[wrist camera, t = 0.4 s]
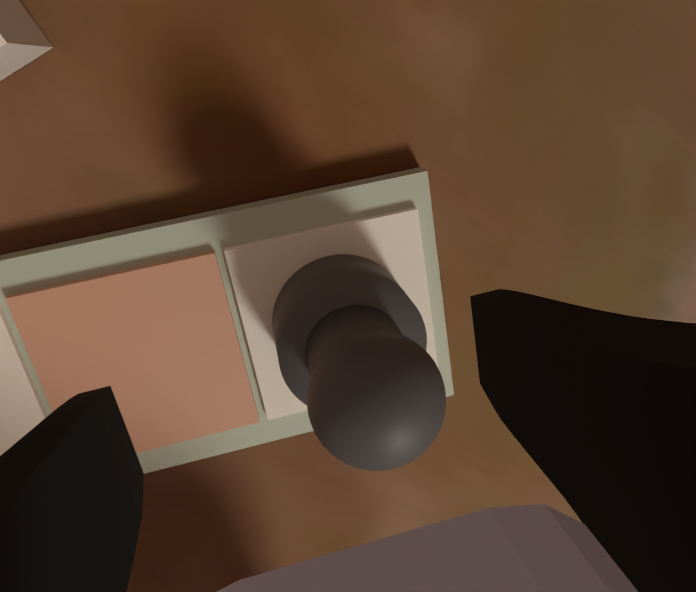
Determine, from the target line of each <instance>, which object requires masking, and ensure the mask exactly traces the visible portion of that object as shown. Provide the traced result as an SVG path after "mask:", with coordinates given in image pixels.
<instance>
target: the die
mask: <svg viewBox="0 0 696 592" xmlns="http://www.w3.org/2000/svg"><path fill="white" fill-rule="evenodd" d="M52 48H53V47H52V45H51V44H50V42H49V41H48V40H47V38H46V37H45V36H44V34H43V33H42V31H41V30H40V29H39V27H38V26H37V24H36V23H35V22H34V20H33V19H32V18H31V16H30V15H29V13H28V12H27V11H26V9H25V8H24V6H23V5H22V4H21V2H20V1H19V0H0V81H1V80H3V79H4V78H6V77H7V76H9V75H11V74H12V73H14V72H15V71H17V70H18V69H20V68H22V67H23V66H25V65H26V64H28V63H30V62H31V61H33V60H34V59H36V58H37V57H39V56H41V55H42V54H44V53H45V52H47V51H48V50H50V49H52Z"/></svg>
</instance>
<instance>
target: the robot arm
mask: <svg viewBox="0 0 696 592" xmlns="http://www.w3.org/2000/svg"><path fill="white" fill-rule="evenodd" d="M470 299H471V307H472V316H473V325H474V334H475V342H476V351H477V360H478V369H479V378H480V384H481V386H482V388H483V390H484V391H485V393H486V395H487V397H488V398H489V400H490V402H491V404H492V405H493V407H494V409H495V410H496V412H497V414H498V415H499V417H500V419H501V420H502V421H503V423H504V424H505V425H506V427H507V428H508V429H509V430H510V432H511V433H512V434H513V435H514V437H515V438H516V439H517V440H518V442H519V443H520V444H521V445H522V447H523V448H524V449H525V450H526V451H527V453H528V454H529V455H530V456H531V458H532V459H533V460H534V461H535V462H536V464H537V465H538V466H539V467H540V469H541V470H542V471H543V472H544V473H545V475H546V476H547V477H548V478H549V480H550V481H551V482H552V483H553V484H554V486H555V487H556V488H557V489H558V490H559V492H560V493H561V494H562V495H563V497H564V498H565V499H566V501H567V502H568V503H569V505H570V506H571V507H572V509H573V510H574V511H575V513H576V514H577V515H578V517H579V518H580V520H581V521H582V523H581V522H579V521H577V520H575V519H573V518H571V517H569V516H567V515H565V514H563V513H561V512H559V511H558V510H556V509H554V508H552V507H550V506H548V505H546V504H538V505H523V506H507V507H492V508H487V509H483V510H480V511H476V512H473V513H469V514H466V515H463V516H459V517H456V518H452V519H449V520H445V521H442V522H438V523H435V524H431V525H428V526H424V527H421V528H418V529H414V530H411V531H407V532H404V533H400V534H397V535H393V536H390V537H386V538H383V539H379V540H376V541H373V542H369V543H366V544H362V545H359V546H355V547H352V548H348V549H345V550H341V551H338V552H334V553H331V554H328V555H324V556H321V557H317V558H314V559H310V560H307V561H303V562H300V563H296V564H293V565H290V566H286V567H283V568H279V569H276V570H272V571H269V572H265V573H262V574H258V575H255V576H251V577H248V578H245V579H241V580H238V581H236V582H234V583H232V584H230V585H228V586H226V587H224V588H223V589H221V590H219V591H217V592H696V324H695V323H683V322H674V321H664V320H655V319H647V318H640V317H633V316H627V315H622V314H616V313H611V312H606V311H600V310H595V309H591V308H586V307H582V306H577V305H573V304H569V303H564V302H560V301H556V300H552V299H548V298H543V297H539V296H535V295H531V294H526V293H522V292H517V291H511V290H502V289H498V290H494V291H490V292H486V293H482V294H478V295H474V296H470ZM143 476H144V473H143V470H142V467H141V465H140V462H139V459H138V457H137V454H136V451H135V449H134V446H133V444H132V441H131V438H130V436H129V433H128V430H127V428H126V425H125V423H124V420H123V417H122V415H121V412H120V409H119V407H118V404H117V401H116V399H115V396H114V394H113V391H112V388H111V386H107V387H103V388H99V389H95V390H91V391H87V392H83V393H79V394H77V395H75V396H73V397H72V398H70V399H69V400H67V401H66V402H65V403H63V404H62V405H61V406H59V407H58V408H57V409H56V410H54V411H53V412H52V413H51V414H50V415H48V416H47V417H46V418H45V419H44V420H42V421H41V422H40V423H39V424H38V425H37V426H35V427H34V428H33V429H32V430H31V431H29V432H28V433H27V434H26V435H25V436H23V437H22V438H21V439H20V440H19V441H18V442H16V443H15V444H14V445H13V446H12V447H10V448H9V449H8V450H7V451H6V452H4V453H3V454H2V455H1V456H0V592H127V587H128V582H129V578H130V573H131V568H132V563H133V559H134V554H135V549H136V544H137V539H138V534H139V529H140V523H141V517H142V502H143Z"/></svg>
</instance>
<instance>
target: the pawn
mask: <svg viewBox="0 0 696 592" xmlns="http://www.w3.org/2000/svg"><path fill="white" fill-rule="evenodd" d="M272 327H273V333H274V339H275V345H276V350H277V356H278V361H279V367H280V371H281V374H282V377H283V379H284V381H285V383H286V385H287V386H288V388H289V389H290V391H291V392H292V393H293V394H294V395H295V396H296V397H297V398H298V399H299V400H300V401H301V402H303V403H304V404H305V405H307V410H308V416H309V419H310V423H311V425H312V428H313V430H314V432H315V434H316V436H317V437H318V439H319V440H320V442H321V443H322V445H323V446H324V447H325V448H326V449H327V450H328V451H329V452H330V453H331V454H332V455H334V456H335V457H336V458H337V459H339V460H341V461H343V462H344V463H346V464H348V465H351V466H353V467H356V468H360V469H364V470H372V471H383V470H390V469H394V468H398V467H401V466H403V465H405V464H408V463H409V462H411V461H413V460H415V459H416V458H417V457H419V456H420V455H421V454H422V453H423V452H425V451H426V450H427V448H428V447H429V446H430V445H431V444H432V442H433V441H434V439H435V438H436V436H437V434H438V432H439V431H440V428H441V426H442V423H443V419H444V415H445V410H446V391H445V386H444V382H443V378H442V376H441V373H440V371H439V369H438V367H437V365H436V363H435V362H434V360H433V359H432V357H431V356H430V355H429V354H428V353H427V351H426V348H427V333H426V328H425V324H424V321H423V318H422V316H421V314H420V312H419V310H418V309H417V307H416V306H415V305H414V303H413V302H412V301H411V299H410V298H409V297H408V296H407V294H406V293H405V292H404V290H403V289H402V288H401V287H400V285H399V284H398V283H397V282H396V280H395V279H394V278H393V277H392V275H391V274H390V273H389V272H388V271H387V270H386V269H385V268H383V267H382V266H381V265H379V264H378V263H376V262H374V261H372V260H370V259H367V258H364V257H361V256H357V255H349V254H336V255H330V256H326V257H322V258H319V259H316V260H314V261H312V262H310V263H308V264H306V265H305V266H303V267H302V268H300V269H299V270H298V271H296V272H295V273H294V274H293V275H292V276H291V277H290V278H289V279H288V280H287V282H286V283H285V284H284V286H283V287H282V289H281V291H280V292H279V294H278V297H277V299H276V301H275V305H274V309H273V316H272Z"/></svg>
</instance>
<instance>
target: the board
mask: <svg viewBox="0 0 696 592" xmlns="http://www.w3.org/2000/svg"><path fill="white" fill-rule="evenodd" d="M336 254H349V255H357V256H361V257H364V258H367V259H370V260H372V261H374V262H376V263H378V264H379V265H381V266H382V267H383V268H385V269H386V270H387V271H388V272H389V273H390V274H391V275H392V277H393V278H394V279H395V280H396V282H397V283H398V284H399V285H400V287H401V288H402V289H403V290H404V292H405V293H406V294H407V296H408V297H409V298H410V299H411V301H412V302H413V303H414V305H415V306H416V307H417V309H418V310H419V312H420V314H421V316H422V318H423V321H424V324H425V328H426V333H427V348H426V351H427V353H428V354H429V355H430V356H431V357H432V359H433V360H434V362H435V363H436V365H437V367H438V369H439V371H440V373H441V376H442V378H443V382H444V386H445V391H446V397H448V396H452V395H454V392H453V383H452V375H451V367H450V358H449V350H448V341H447V333H446V324H445V316H444V308H443V299H442V291H441V282H440V274H439V265H438V257H437V248H436V240H435V232H434V223H433V215H432V206H431V198H430V189H429V181H428V173H427V170H425V169H423V168H421V167H418V168H413V169H408V170H404V171H399V172H394V173H389V174H385V175H380V176H375V177H370V178H366V179H361V180H356V181H351V182H346V183H342V184H337V185H332V186H327V187H323V188H318V189H313V190H308V191H303V192H299V193H294V194H289V195H284V196H280V197H275V198H270V199H265V200H260V201H256V202H251V203H246V204H241V205H237V206H232V207H227V208H222V209H217V210H213V211H208V212H203V213H198V214H194V215H189V216H184V217H179V218H175V219H170V220H165V221H160V222H155V223H151V224H146V225H141V226H136V227H132V228H127V229H122V230H117V231H112V232H108V233H103V234H98V235H93V236H89V237H84V238H79V239H74V240H69V241H65V242H60V243H55V244H50V245H46V246H41V247H36V248H31V249H26V250H22V251H17V252H12V253H7V254H3V255H0V456H1V455H2V454H3V453H4V452H6V451H7V450H8V449H9V448H10V447H12V446H13V445H14V444H15V443H16V442H18V441H19V440H20V439H21V438H22V437H23V436H25V435H26V434H27V433H28V432H29V431H31V430H32V429H33V428H34V427H35V426H37V425H38V424H39V423H40V422H41V421H42V420H44V419H45V418H46V417H47V416H48V415H50V414H51V413H52V412H53V411H54V410H56V409H57V408H58V407H59V406H61V405H62V404H63V403H65V402H66V401H67V400H69V399H70V398H72V397H73V396H75V395H77V394H79V393H83V392H87V391H91V390H95V389H99V388H103V387H107V386H111V388H112V391H113V394H114V396H115V399H116V401H117V404H118V407H119V409H120V412H121V415H122V417H123V420H124V423H125V425H126V428H127V430H128V433H129V436H130V438H131V441H132V444H133V446H134V449H135V451H136V454H137V457H138V459H139V462H140V465H141V467H142V470H143V473H144V474H145V473H149V472H153V471H157V470H161V469H165V468H169V467H173V466H177V465H181V464H184V463H188V462H192V461H196V460H200V459H204V458H208V457H212V456H216V455H220V454H224V453H228V452H232V451H236V450H239V449H243V448H247V447H251V446H255V445H259V444H263V443H267V442H271V441H275V440H279V439H283V438H287V437H291V436H294V435H298V434H302V433H306V432H310V431H314V430H313V428H312V425H311V423H310V419H309V416H308V410H307V405H305V404H304V403H303V402H301V401H300V400H299V399H298V398H297V397H296V396H295V395H294V394H293V393H292V392H291V391H290V389H289V388H288V386H287V385H286V383H285V381H284V379H283V377H282V374H281V371H280V367H279V361H278V356H277V350H276V345H275V339H274V333H273V327H272V316H273V309H274V305H275V301H276V299H277V297H278V294H279V292H280V291H281V289H282V287H283V286H284V284H285V283H286V282H287V280H288V279H289V278H290V277H291V276H292V275H293V274H294V273H295V272H296V271H298V270H299V269H300V268H302V267H303V266H305V265H306V264H308V263H310V262H312V261H314V260H316V259H319V258H322V257H326V256H330V255H336Z"/></svg>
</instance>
